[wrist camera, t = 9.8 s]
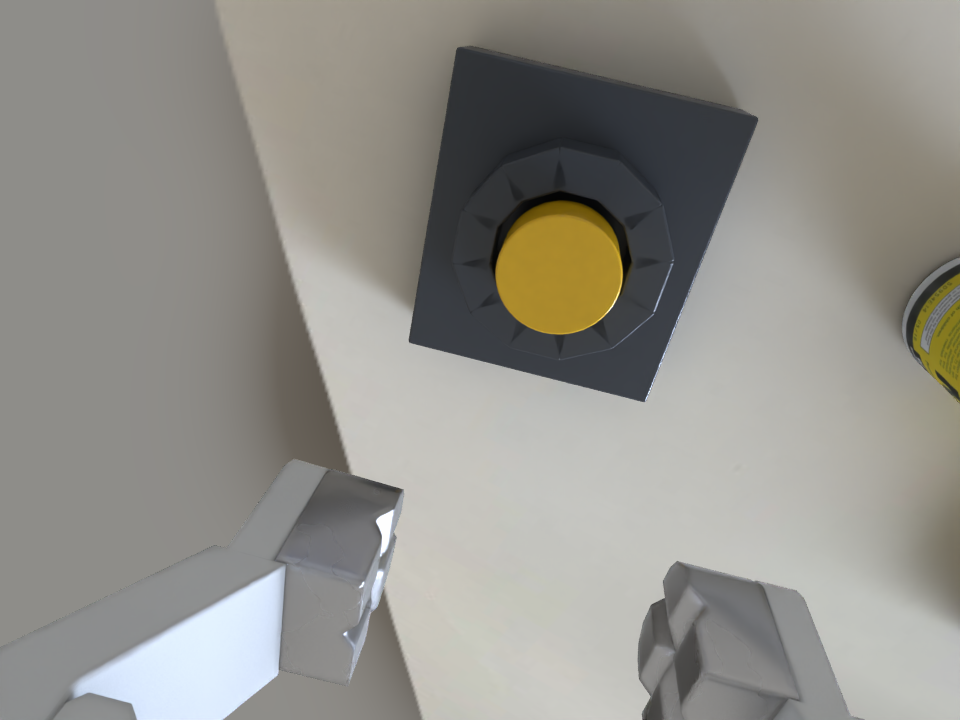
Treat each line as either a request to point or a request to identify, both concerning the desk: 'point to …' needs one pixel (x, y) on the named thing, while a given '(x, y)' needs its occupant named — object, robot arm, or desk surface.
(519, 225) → the trigger button
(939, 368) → the supplement bottle
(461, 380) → the desk surface
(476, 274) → the button block
